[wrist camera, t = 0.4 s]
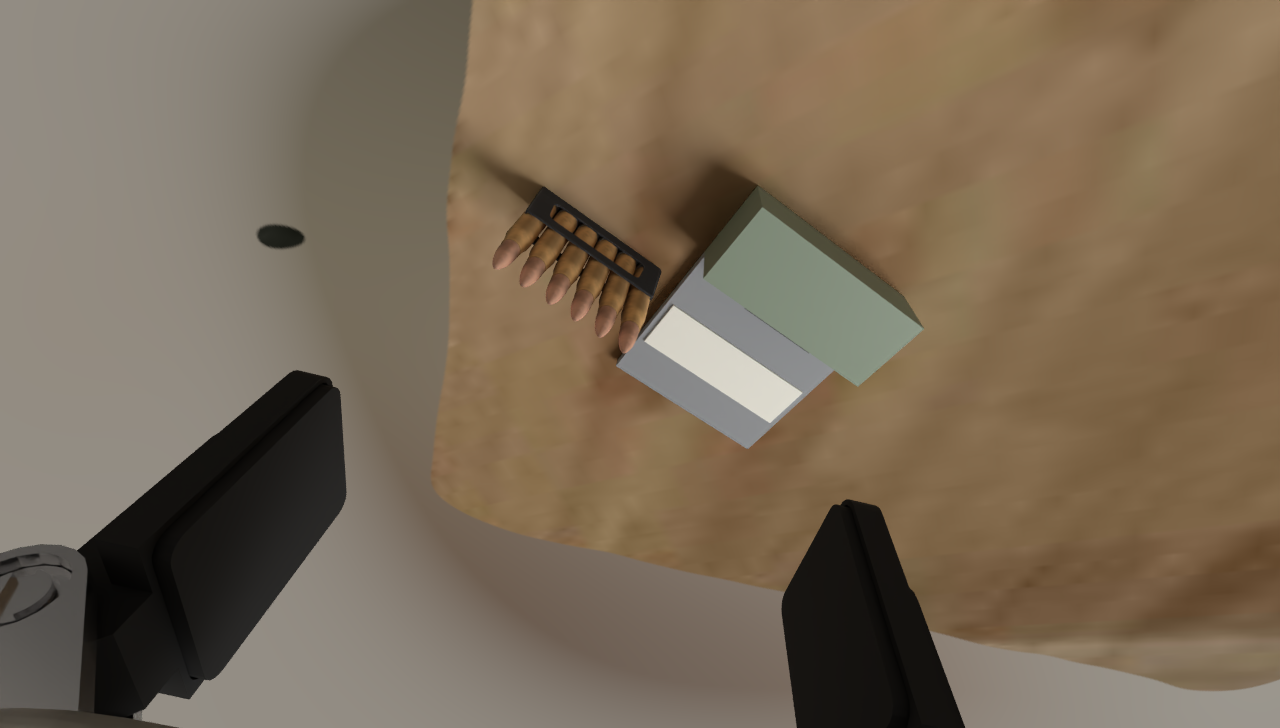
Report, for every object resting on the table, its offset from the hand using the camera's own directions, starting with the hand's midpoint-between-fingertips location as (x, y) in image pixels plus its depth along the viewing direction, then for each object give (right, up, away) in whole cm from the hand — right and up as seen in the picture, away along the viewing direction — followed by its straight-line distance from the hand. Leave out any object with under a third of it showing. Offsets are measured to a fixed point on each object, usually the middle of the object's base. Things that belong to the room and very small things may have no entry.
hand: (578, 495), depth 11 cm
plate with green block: (+10, +5, +35) cm, 37 cm away
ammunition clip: (-2, +12, +33) cm, 35 cm away
